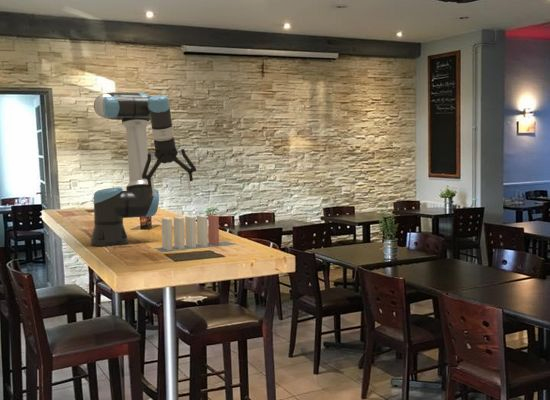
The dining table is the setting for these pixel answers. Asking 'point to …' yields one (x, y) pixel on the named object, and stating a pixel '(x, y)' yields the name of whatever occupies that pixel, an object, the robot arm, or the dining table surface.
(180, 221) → the domino
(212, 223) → the domino
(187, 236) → the domino
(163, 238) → the domino
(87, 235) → the dining table surface
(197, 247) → the runner mat
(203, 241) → the domino
